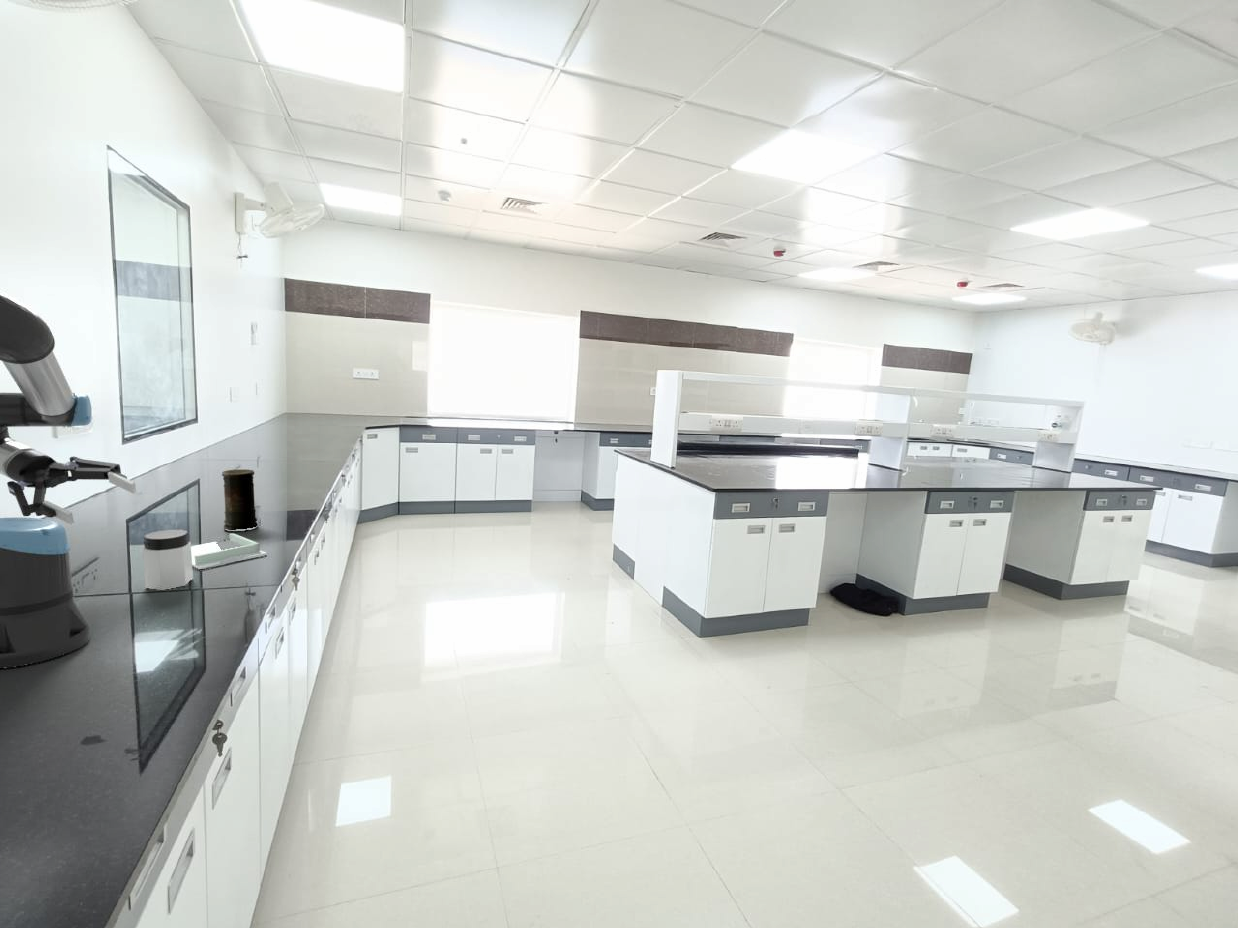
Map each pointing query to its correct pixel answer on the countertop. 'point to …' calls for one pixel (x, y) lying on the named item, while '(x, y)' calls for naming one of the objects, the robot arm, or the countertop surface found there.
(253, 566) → the countertop surface
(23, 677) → the countertop surface
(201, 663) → the countertop surface
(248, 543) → the holder
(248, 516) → the container
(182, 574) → the jar
